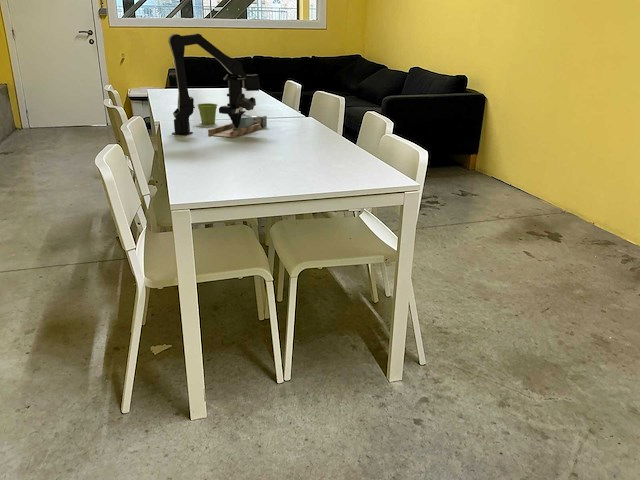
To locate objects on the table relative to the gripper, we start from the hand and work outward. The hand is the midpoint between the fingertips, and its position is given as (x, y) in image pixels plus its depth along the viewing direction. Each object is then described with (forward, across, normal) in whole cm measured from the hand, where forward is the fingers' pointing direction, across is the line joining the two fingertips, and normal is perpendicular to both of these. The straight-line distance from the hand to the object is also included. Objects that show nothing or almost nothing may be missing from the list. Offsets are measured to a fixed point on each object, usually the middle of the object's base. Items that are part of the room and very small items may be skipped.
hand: (236, 127), depth 233 cm
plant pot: (+2, +11, +22) cm, 25 cm away
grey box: (+1, +6, 0) cm, 6 cm away
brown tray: (+2, -1, 0) cm, 2 cm away
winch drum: (+2, +15, 0) cm, 15 cm away
